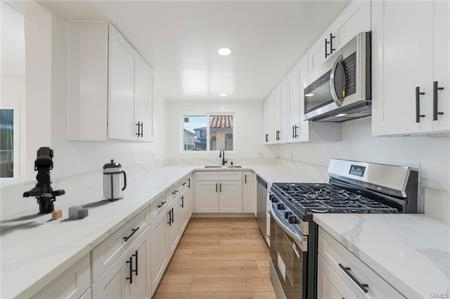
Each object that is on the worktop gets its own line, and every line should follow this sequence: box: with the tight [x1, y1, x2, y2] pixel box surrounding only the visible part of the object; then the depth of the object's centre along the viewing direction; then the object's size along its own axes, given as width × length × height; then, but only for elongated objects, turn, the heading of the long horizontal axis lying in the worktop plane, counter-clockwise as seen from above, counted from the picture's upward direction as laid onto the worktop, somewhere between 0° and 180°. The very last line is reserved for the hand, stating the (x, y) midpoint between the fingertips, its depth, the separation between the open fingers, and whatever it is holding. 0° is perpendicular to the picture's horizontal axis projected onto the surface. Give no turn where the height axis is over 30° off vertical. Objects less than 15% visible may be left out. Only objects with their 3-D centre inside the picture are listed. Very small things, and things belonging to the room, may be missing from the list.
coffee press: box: [101, 159, 128, 202], centre depth 178 cm, size 17×16×30 cm
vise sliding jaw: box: [51, 209, 63, 221], centre depth 131 cm, size 2×5×4 cm, turn 5°
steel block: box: [67, 205, 83, 220], centre depth 132 cm, size 5×4×6 cm
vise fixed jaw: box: [77, 208, 89, 219], centre depth 132 cm, size 3×5×4 cm, turn 5°
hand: (44, 208), depth 130 cm, fingers closed
